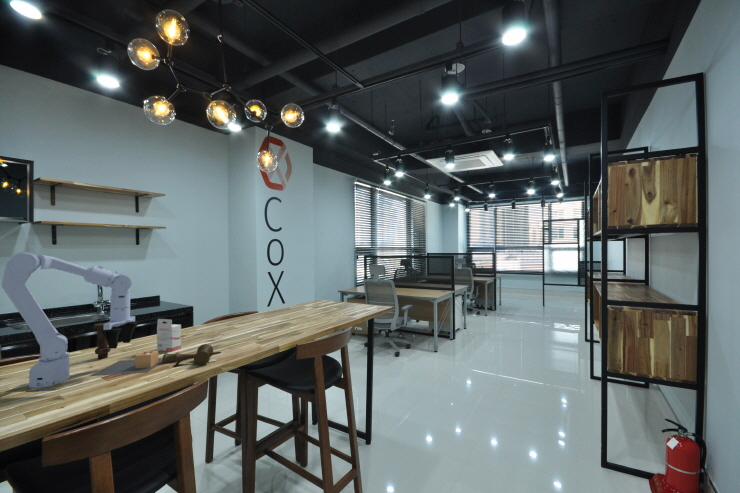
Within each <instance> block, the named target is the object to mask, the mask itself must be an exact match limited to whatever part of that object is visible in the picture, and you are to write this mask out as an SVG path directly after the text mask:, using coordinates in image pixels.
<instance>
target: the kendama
mask: <svg viewBox="0 0 740 493" xmlns="http://www.w3.org/2000/svg"><path fill="white" fill-rule="evenodd" d="M221 353H222V351H214V347H213V346H212V344H209V343H204V344H200V346H198V347H197V350H196V353H181V352H176V353H168V352H165V353H163V356H162V358H163V360H162V362H163V363H162V364H163V365H165V364H170V363H175V365H178V364H180V363H182V362H185V361H188V360H192V359H193V363H194V364H195V365H197V366H204V365H207V364H208V363H209V362H210V360H211V359H210V358H211V357H212V356H213V355H219V354H221Z"/></svg>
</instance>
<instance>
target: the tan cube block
mask: <svg viewBox="0 0 740 493" xmlns="http://www.w3.org/2000/svg"><path fill="white" fill-rule="evenodd" d="M146 353H150V354H146ZM158 358H159V350H145V351H144V350H142V351H141V352H140V353H138V354H137V353H136V355H134V360H135V368H148V367H152V366H154V365H155V364H157V363H158Z"/></svg>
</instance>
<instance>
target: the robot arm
mask: <svg viewBox="0 0 740 493" xmlns="http://www.w3.org/2000/svg"><path fill="white" fill-rule="evenodd" d="M4 267H5V268H4V272H3V276H2V279H1V280H2V281H1V284H0V285H1V288H2V290H3V291H4V293H6V296H8V298H9V299H10V301H11V303H12V304H13V305H14V307H15V309H16V310H17V311H18V313H19V314H20V315H21V317H22V318H23V320H24V321H25V323H26V324H27V326H28V328H29V330H31V332H32V333H33V335H34V337H35V340H36V342H37V344H38V345H39V348H40V349H39V354H40V355H41V356H39V357H38V361H37V363H36V364H35V363H34V365H32V366H31V367H30V368H29V369H30V370H29V371H28V372H29V373H28V374H29V375H28V376H29V377H28V378H29V379H28V382H29V383H28V387H29V388H31V389H33V388H34V389H35V388H44V387H45V388H46V387H49V388H50V387H52V386H54V385H56V384H58V383H62V382H65V381H67V380H69V379H70V367H71V366H70V359H71V358H70V355H71V354H70V352H69V351H68V347H69V346H68V343H69V342H68V338H67V337H66V336H65V335H63V334H61V333H60V332H58V330H57V329H56V327H55V326H54V325H53V323H51V320H50V319H49V317H48V316H47V315H46V313H45V312H44V310H43V309H42V307H41V305H40V304H39V302H38V301H37V299H36V298H35V297H34V295H33V294H32V292H31V291H30V288H28V286H27V283H28V280H29V279H30V277H31V275H33V273H34V272H35V271H36V270H38V268H40V270H49V269H53V270H58V271H61V272H62V271H63V272H66V273H70V274H74V275H76V276H81V277H83V279H84V281H85V282H87V283H91V284H94V285H96V286H97V285H98V286H100V287H103V288H109V287H110V288H111V291H110V292H111V295H110V309H109V310H110V312H109V313H110V314H109V315H110V318H109V321H108V322H105V323H106V324H104V329H102V330H101V332H102V334H103V335H104V336H105V338H106V340H107V343H108V346H109V349H111V350H113V349H117V348H118V346H119V337H120V335H121V338H122V343H123V344H129V343H131V340H132V337H133V333H134V331H135V330H136V328H137V326H138V322H136V316H134V315H133V316H131V294H130V293H131V287H132V285H133V282H132V280H131V278H130V277H129V276H127V275H124V274H123V273H122V274H121V273H119V271H117V270H116V271H111V270H108V269H105V268H104V267H103V266H102V265H98V266H96V265H95V266H90V267H86V266H82V265H81V264H80V265H79V264H76V263H73V262H70V261H67V260H65V259H61V258H58V257H56V256H50V255H45V254H39V253H38V254H36V253H34V252H30V251H19V252H18V253H15V254H14V255H12V256H11V257H10V259H9V260H8V261H7V262H6V263H5V266H4ZM118 327H119V328H118ZM120 333H121V334H120ZM55 390H56V388H50V389H35V390H26V391H25V392H26V393H31V392H43V391H44V392H46V391H55Z"/></svg>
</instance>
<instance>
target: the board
mask: <svg viewBox="0 0 740 493" xmlns="http://www.w3.org/2000/svg"><path fill="white" fill-rule="evenodd" d="M146 354H150V353H146ZM162 360H163V357H161V358H159V357H158V363H157V364H155V365H154V366H152V367H148V368H135V359H126V360H125V359H124V360H122V359H121V360H118V361H115V362H114V363H112V364H110V365H109V366H106V367H104V368H102V369H100V370H98V371H96V372H94V373H92V374H90V375H89V377H96V376H97V377H98V376H114V375H115V376H116V375H130V374H145V373H146V374H147V373H149V372H151V371H152V370H153V369H154V368H155V369H156V368H157V367H158V366H159V365H161V364H163V362H162Z"/></svg>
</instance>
